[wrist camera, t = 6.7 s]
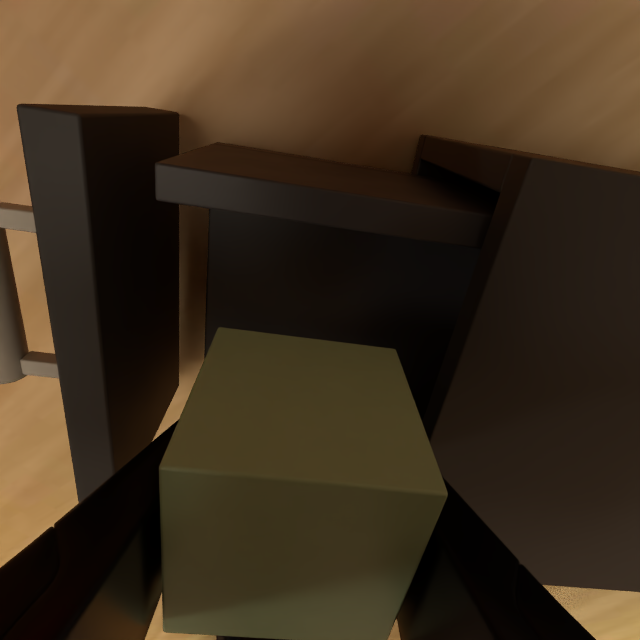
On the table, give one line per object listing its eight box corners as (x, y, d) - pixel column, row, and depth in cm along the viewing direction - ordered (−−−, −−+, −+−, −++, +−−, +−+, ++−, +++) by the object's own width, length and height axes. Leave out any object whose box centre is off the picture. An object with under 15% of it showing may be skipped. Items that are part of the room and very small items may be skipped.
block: (361, 474, 11) (385, 646, 8) (211, 460, 11) (161, 633, 7) (396, 348, 9) (451, 494, 6) (218, 325, 9) (157, 467, 5)
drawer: (57, 371, 19) (-65, 498, 12) (11, 84, 13) (-233, 62, 7) (435, 413, 20) (489, 544, 14) (522, 170, 15) (665, 210, 9)
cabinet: (355, 403, 21) (381, 573, 13) (420, 133, 15) (532, 157, 8) (621, 432, 22) (786, 603, 14) (771, 194, 17) (1171, 266, 9)
